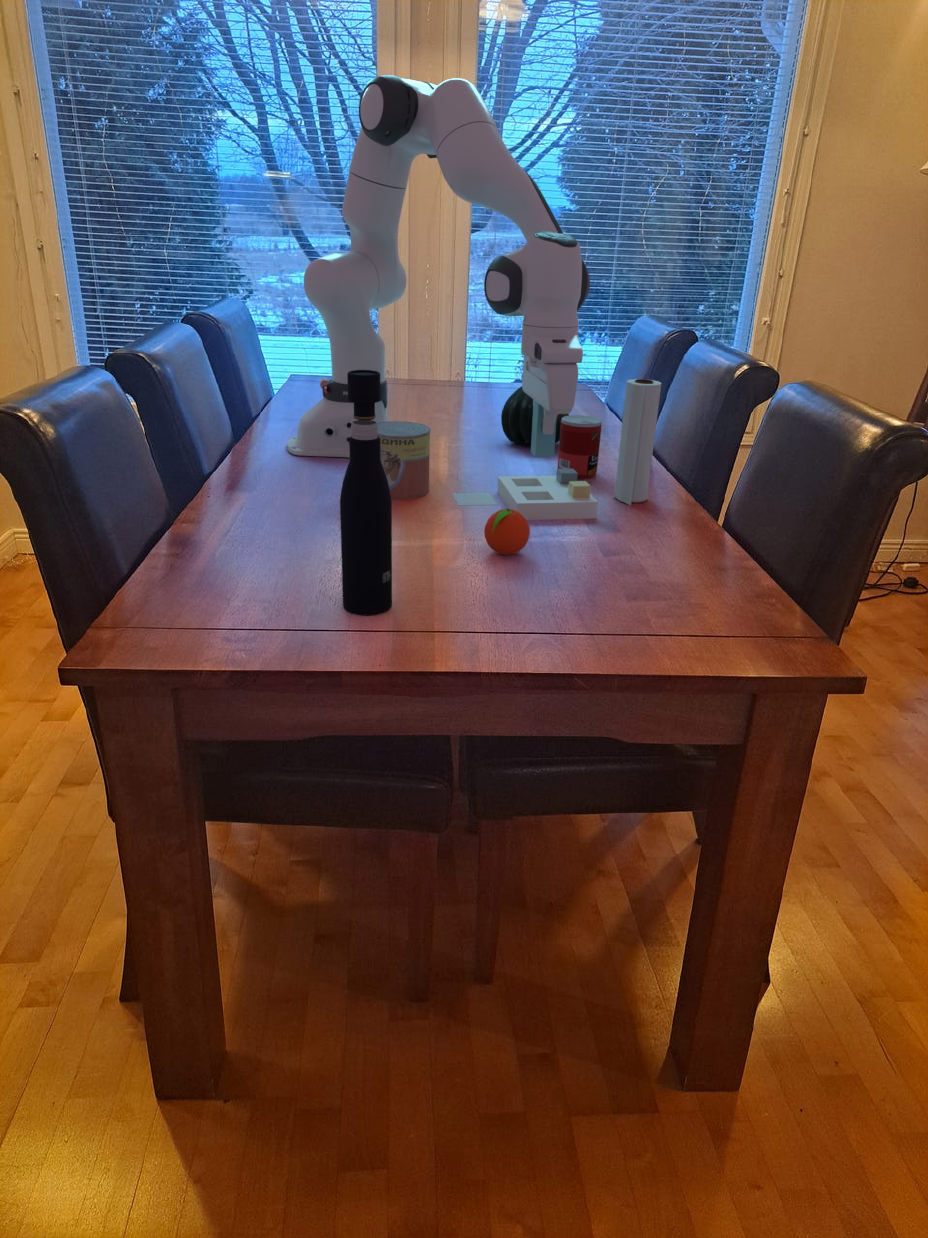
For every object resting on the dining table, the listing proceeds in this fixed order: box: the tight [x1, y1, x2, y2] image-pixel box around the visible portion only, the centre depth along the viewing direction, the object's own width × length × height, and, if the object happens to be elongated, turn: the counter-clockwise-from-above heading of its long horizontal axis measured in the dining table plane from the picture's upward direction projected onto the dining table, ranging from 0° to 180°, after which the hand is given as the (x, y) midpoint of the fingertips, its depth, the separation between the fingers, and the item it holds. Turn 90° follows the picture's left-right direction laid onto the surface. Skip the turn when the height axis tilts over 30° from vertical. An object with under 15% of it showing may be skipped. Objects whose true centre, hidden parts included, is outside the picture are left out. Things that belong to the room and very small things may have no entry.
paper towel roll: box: [614, 378, 662, 506], centre depth 158 cm, size 7×6×21 cm
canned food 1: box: [377, 420, 431, 501], centre depth 159 cm, size 11×11×12 cm
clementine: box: [483, 508, 531, 556], centre depth 133 cm, size 8×7×7 cm
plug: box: [530, 400, 557, 458], centre depth 146 cm, size 3×3×10 cm
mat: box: [451, 492, 498, 507], centre depth 158 cm, size 7×7×1 cm
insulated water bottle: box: [339, 370, 393, 616], centre depth 110 cm, size 6×6×30 cm
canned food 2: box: [556, 414, 603, 480], centre depth 175 cm, size 8×8×11 cm
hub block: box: [496, 468, 599, 521], centre depth 155 cm, size 14×16×6 cm
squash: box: [500, 385, 570, 445], centre depth 196 cm, size 14×15×15 cm
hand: (543, 430), depth 146 cm, fingers closed on plug, 3 cm apart
